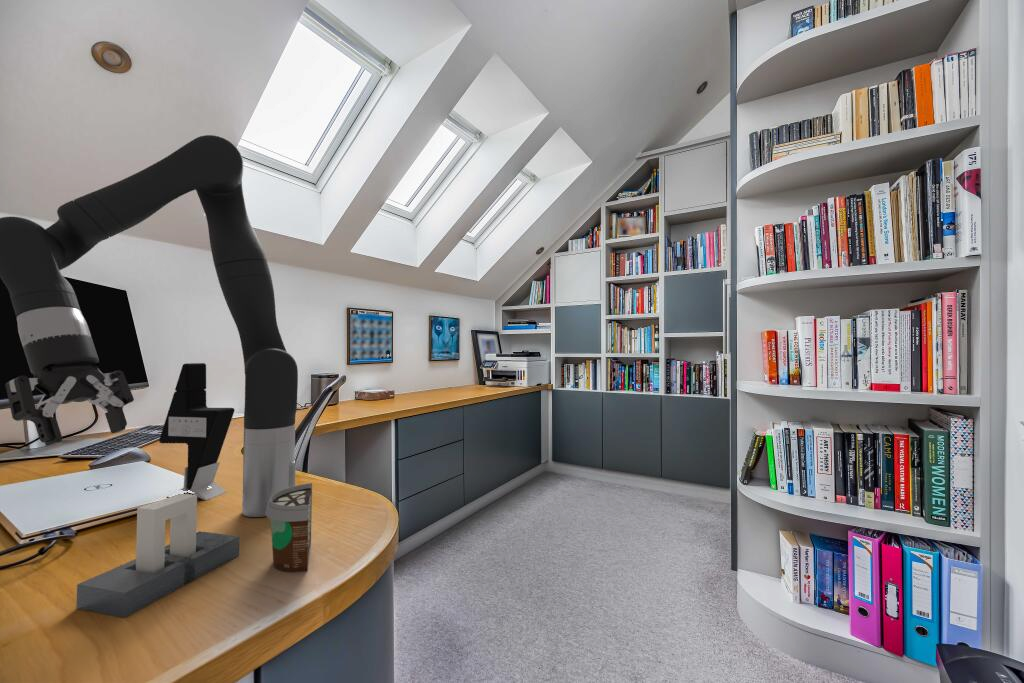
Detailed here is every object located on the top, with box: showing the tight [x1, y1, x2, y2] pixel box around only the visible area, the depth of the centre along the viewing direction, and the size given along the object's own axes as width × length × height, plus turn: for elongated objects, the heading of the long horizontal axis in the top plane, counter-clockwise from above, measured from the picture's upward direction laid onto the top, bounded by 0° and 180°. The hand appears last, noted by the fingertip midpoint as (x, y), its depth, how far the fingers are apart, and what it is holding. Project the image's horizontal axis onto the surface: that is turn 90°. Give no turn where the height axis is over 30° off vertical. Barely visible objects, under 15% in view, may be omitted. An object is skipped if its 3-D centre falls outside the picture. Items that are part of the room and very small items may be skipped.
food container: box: [265, 482, 313, 573], centre depth 64 cm, size 12×6×10 cm, turn 23°
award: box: [158, 362, 235, 501], centre depth 95 cm, size 15×5×30 cm, turn 81°
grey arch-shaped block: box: [135, 493, 198, 573], centre depth 59 cm, size 6×3×11 cm, turn 167°
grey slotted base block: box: [76, 531, 240, 618], centre depth 59 cm, size 16×8×3 cm, turn 167°
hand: (89, 437), depth 65 cm, fingers open, 8 cm apart
